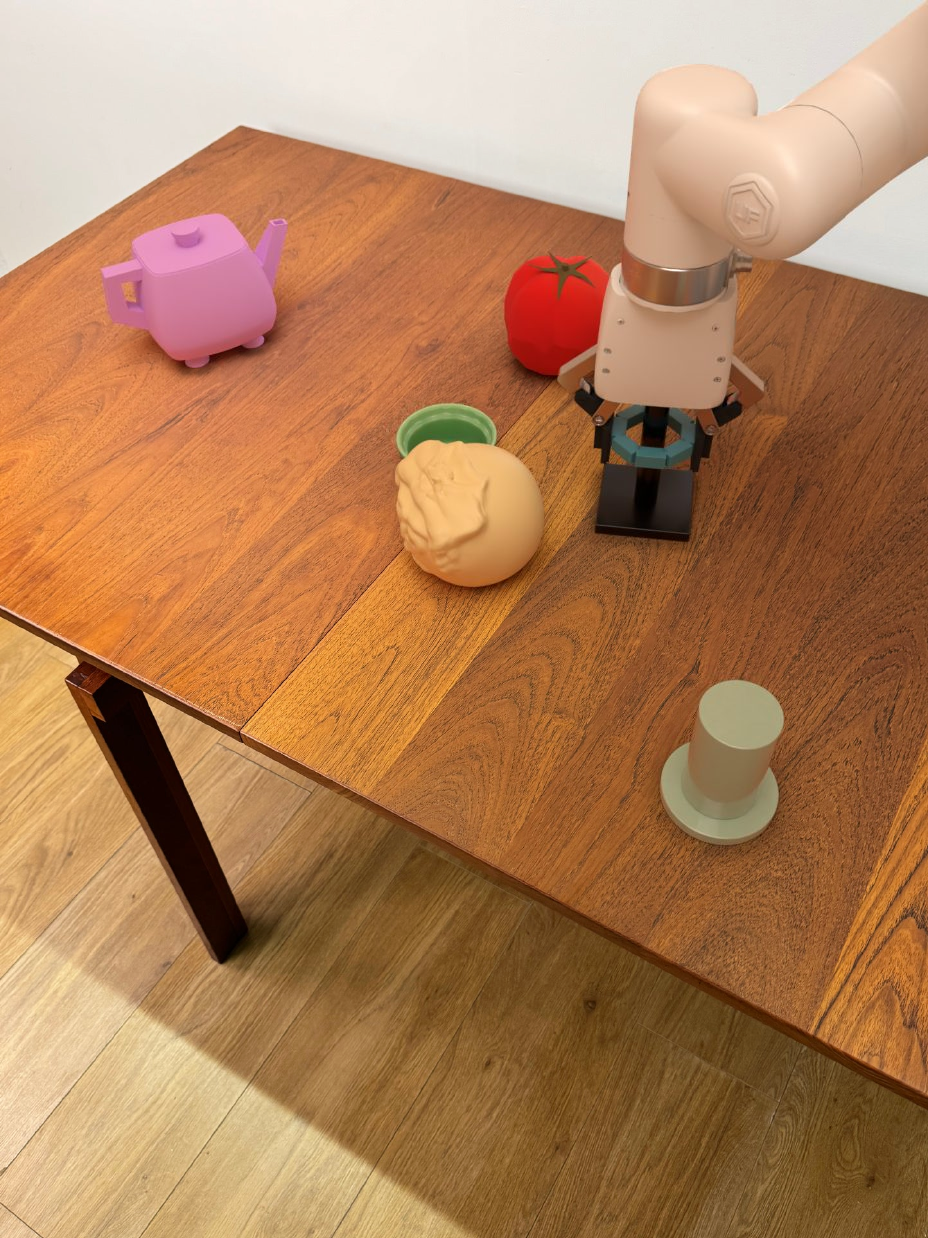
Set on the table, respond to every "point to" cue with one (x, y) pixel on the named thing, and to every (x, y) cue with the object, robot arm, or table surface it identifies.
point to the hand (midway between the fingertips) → (650, 455)
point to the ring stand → (726, 766)
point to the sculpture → (468, 511)
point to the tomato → (554, 310)
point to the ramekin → (445, 427)
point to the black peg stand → (646, 492)
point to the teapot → (198, 286)
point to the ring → (649, 455)
